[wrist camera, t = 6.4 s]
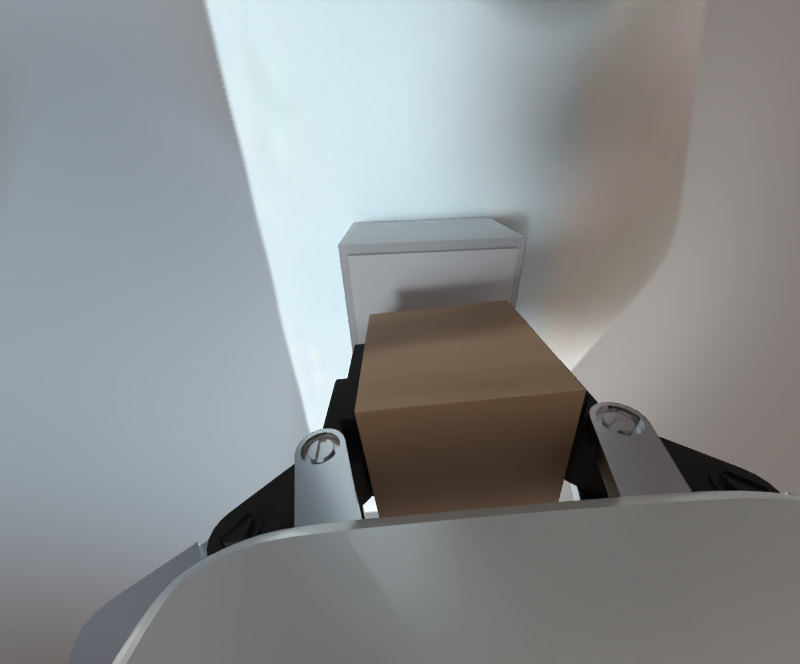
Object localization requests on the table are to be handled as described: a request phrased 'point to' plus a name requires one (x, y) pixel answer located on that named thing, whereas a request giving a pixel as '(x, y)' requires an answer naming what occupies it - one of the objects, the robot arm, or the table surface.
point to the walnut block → (463, 410)
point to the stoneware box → (427, 266)
